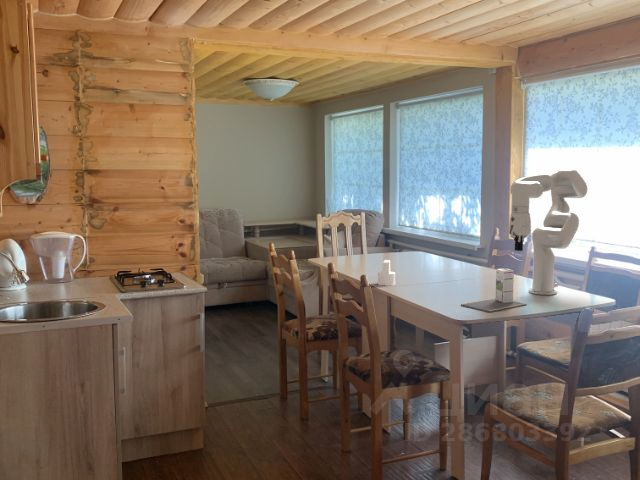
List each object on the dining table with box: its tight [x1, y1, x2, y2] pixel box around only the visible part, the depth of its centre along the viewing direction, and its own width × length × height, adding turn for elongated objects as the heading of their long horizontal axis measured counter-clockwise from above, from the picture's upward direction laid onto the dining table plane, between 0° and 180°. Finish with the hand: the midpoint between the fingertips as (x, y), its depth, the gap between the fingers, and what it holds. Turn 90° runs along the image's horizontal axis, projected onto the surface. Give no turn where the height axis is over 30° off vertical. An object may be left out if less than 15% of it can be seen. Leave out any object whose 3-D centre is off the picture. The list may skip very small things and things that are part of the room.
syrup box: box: [495, 267, 515, 303], centre depth 285 cm, size 6×6×14 cm
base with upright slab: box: [377, 259, 396, 287], centre depth 329 cm, size 9×9×12 cm
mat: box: [460, 297, 527, 313], centre depth 280 cm, size 24×16×1 cm, turn 125°
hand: (518, 250), depth 288 cm, fingers closed
